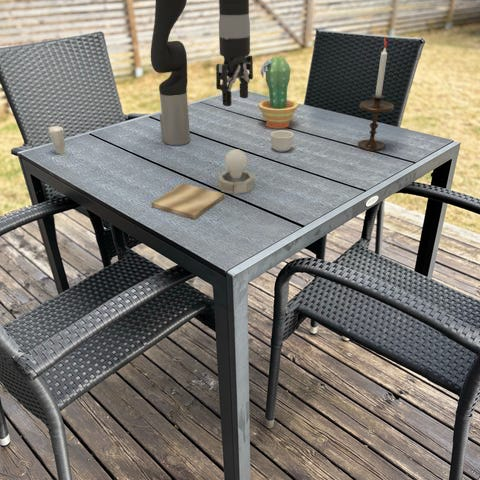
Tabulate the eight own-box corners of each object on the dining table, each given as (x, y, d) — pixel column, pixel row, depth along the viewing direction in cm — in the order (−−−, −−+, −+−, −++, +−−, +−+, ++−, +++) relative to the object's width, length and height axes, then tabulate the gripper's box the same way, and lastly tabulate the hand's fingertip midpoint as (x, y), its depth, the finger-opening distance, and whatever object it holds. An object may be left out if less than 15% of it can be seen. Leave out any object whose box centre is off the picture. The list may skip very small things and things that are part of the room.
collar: (212, 189, 132) (212, 179, 131) (230, 176, 140) (230, 167, 138) (242, 196, 128) (242, 186, 126) (259, 183, 135) (259, 173, 134)
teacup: (290, 154, 154) (291, 138, 152) (268, 152, 156) (268, 136, 154) (296, 144, 163) (296, 129, 160) (274, 142, 164) (275, 127, 162)
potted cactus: (271, 116, 190) (273, 51, 177) (304, 123, 183) (308, 55, 169) (250, 126, 180) (249, 58, 167) (284, 133, 172) (286, 63, 159)
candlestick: (348, 143, 162) (361, 35, 144) (374, 139, 166) (389, 33, 147) (367, 154, 154) (383, 40, 135) (394, 149, 157) (413, 37, 139)
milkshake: (72, 151, 159) (66, 123, 154) (58, 156, 156) (51, 127, 150) (65, 148, 162) (59, 120, 156) (51, 152, 158) (44, 124, 153)
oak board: (151, 206, 124) (151, 202, 123) (183, 187, 134) (183, 183, 133) (194, 219, 117) (194, 215, 117) (224, 197, 128) (224, 193, 127)
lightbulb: (250, 183, 135) (250, 147, 129) (241, 192, 130) (241, 155, 124) (231, 180, 137) (230, 144, 132) (221, 188, 133) (220, 152, 127)
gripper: (236, 29, 120) (237, 93, 128) (205, 37, 109) (208, 106, 118) (261, 31, 116) (261, 97, 125) (232, 39, 106) (233, 110, 114)
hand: (235, 101), depth 121 cm, fingers open, 8 cm apart
